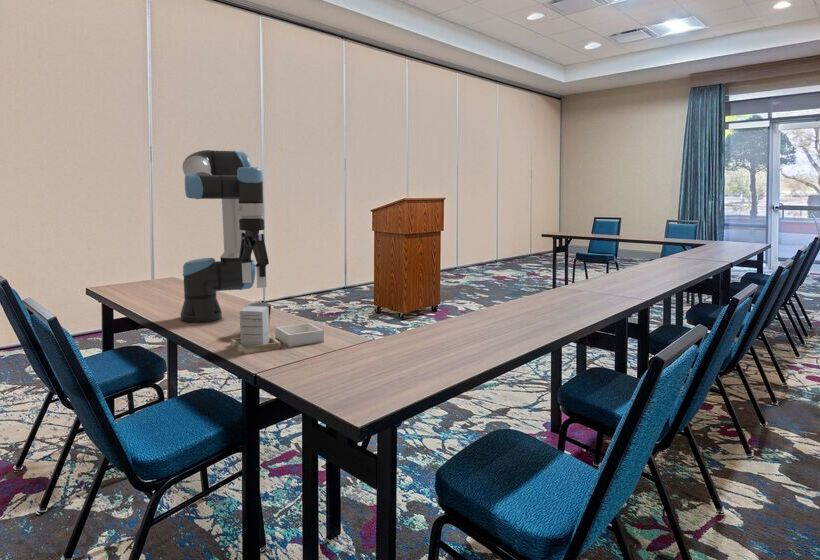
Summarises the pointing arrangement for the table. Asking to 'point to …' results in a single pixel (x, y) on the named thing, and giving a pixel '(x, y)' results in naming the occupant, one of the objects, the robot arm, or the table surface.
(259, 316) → the supplement box
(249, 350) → the corral
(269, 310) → the coffee mug
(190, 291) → the robot arm
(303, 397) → the table surface
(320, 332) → the bin
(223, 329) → the table surface
